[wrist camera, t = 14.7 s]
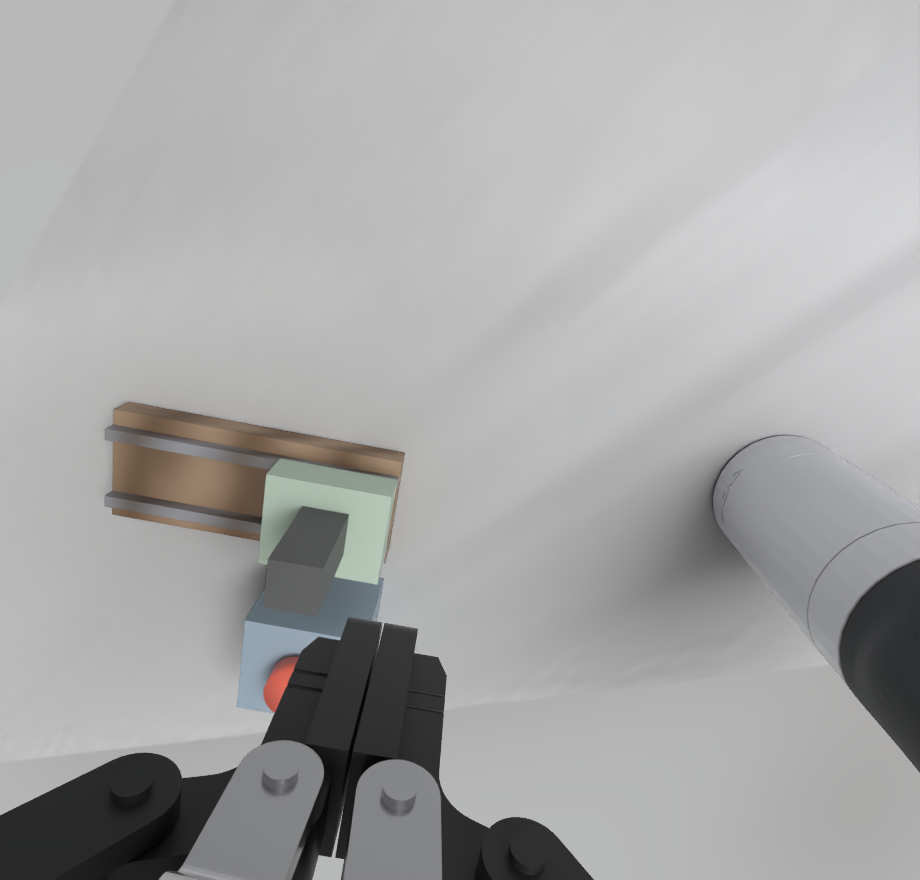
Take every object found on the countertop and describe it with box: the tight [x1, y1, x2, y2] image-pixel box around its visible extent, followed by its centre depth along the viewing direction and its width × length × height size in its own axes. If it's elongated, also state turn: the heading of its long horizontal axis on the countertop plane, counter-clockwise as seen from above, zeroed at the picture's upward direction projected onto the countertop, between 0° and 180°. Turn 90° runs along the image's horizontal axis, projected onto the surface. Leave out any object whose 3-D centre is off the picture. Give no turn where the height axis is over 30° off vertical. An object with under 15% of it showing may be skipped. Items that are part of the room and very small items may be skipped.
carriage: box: [258, 458, 397, 616], centre depth 39 cm, size 8×6×10 cm
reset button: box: [263, 657, 299, 713], centre depth 41 cm, size 4×4×2 cm
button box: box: [237, 577, 384, 714], centre depth 46 cm, size 8×7×8 cm
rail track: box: [105, 402, 405, 563], centre depth 46 cm, size 20×8×3 cm, turn 80°
